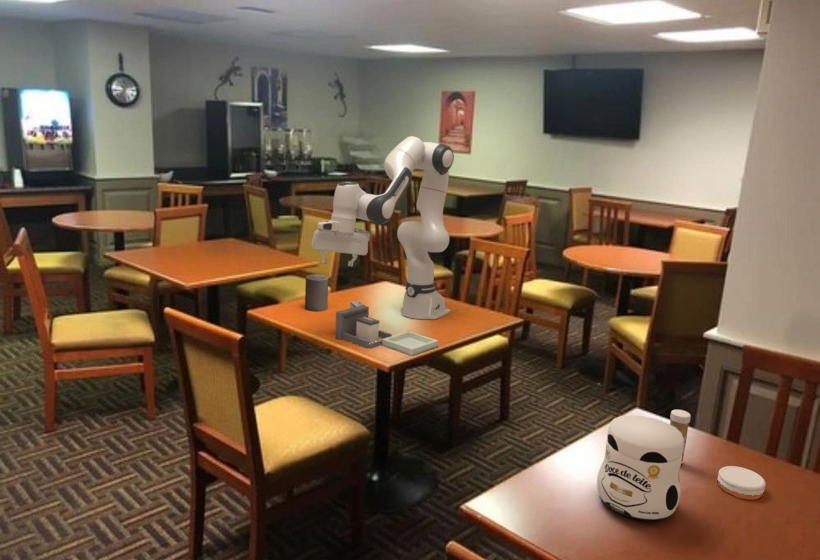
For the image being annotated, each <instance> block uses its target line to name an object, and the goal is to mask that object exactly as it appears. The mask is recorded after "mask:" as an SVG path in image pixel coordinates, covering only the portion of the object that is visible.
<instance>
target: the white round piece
mask: <svg viewBox="0 0 820 560" xmlns="http://www.w3.org/2000/svg"><path fill="white" fill-rule="evenodd" d="M717 480H718V481H719V482H720V484H721V485H723V486H724V487H726V488H727V489H729V490H731V491H734V492H737V493H739V494H744V495H752V496H754V495H760V494H762V493H763V492H764V493H765V487H766V481H765V479H764V478H763V477H762V476H761V474H758V473H757V472H755V471H753V470H751V469H748V468H745V467H742V466H741V467H740V466H735V465H727V466H723V467H721V468H720V469H719V470H718V475H717Z"/></svg>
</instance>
